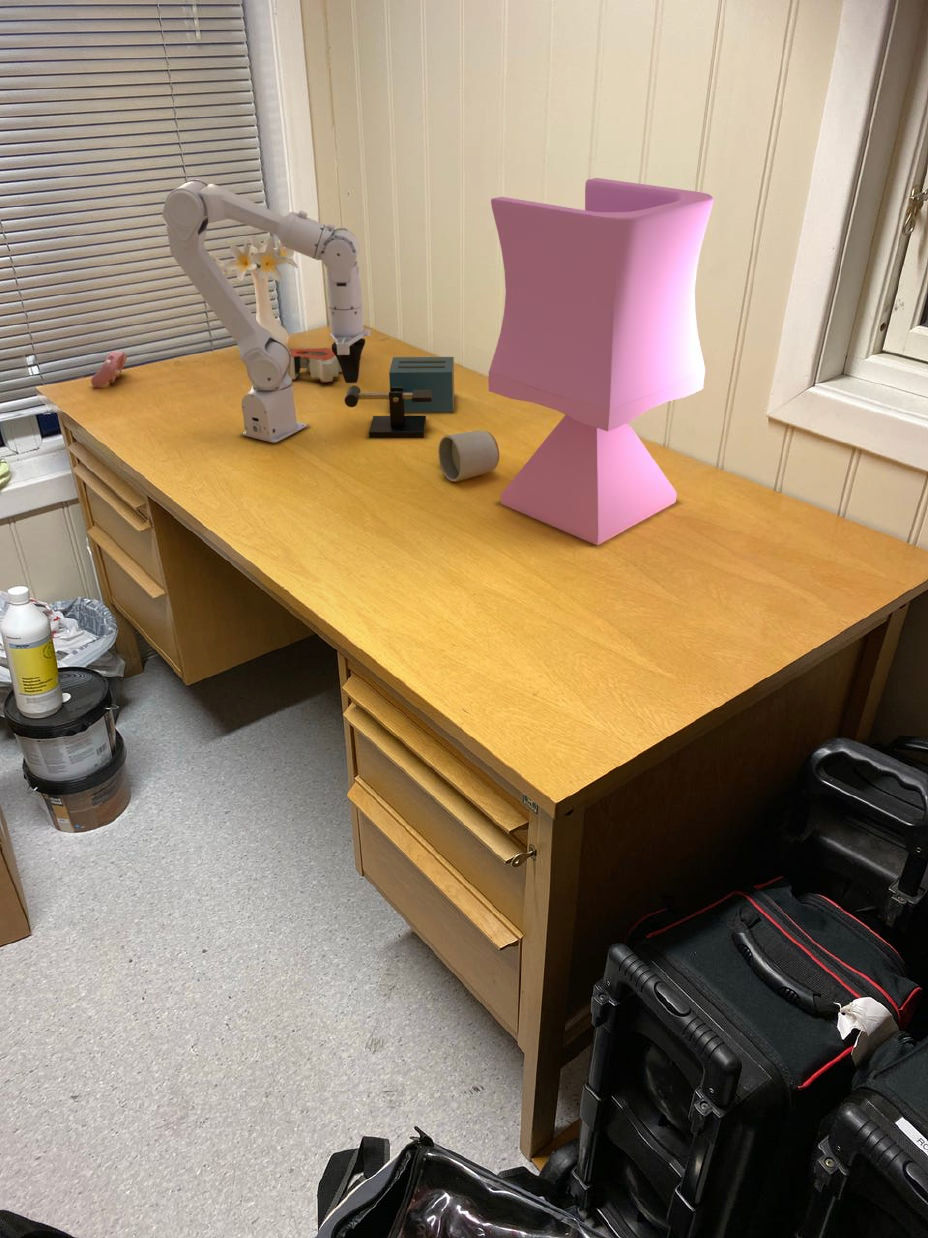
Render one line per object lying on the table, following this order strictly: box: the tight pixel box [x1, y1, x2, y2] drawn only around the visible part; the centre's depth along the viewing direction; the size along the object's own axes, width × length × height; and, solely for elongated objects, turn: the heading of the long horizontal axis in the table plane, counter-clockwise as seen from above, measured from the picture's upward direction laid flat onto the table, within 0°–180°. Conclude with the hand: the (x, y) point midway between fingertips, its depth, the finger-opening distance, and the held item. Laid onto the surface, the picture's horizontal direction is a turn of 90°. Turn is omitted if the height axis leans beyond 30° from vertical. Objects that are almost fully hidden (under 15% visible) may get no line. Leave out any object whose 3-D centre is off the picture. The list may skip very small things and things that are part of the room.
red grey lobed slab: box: [287, 347, 342, 384], centre depth 203 cm, size 18×5×20 cm
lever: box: [344, 384, 432, 408], centre depth 173 cm, size 16×5×2 cm, turn 89°
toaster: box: [388, 356, 455, 414], centre depth 185 cm, size 12×9×8 cm
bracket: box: [368, 386, 427, 439], centre depth 175 cm, size 10×8×8 cm
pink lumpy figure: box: [90, 349, 128, 388], centre depth 200 cm, size 10×5×7 cm, turn 179°
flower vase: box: [209, 234, 299, 347], centre depth 207 cm, size 13×18×25 cm
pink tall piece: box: [488, 177, 715, 546], centre depth 138 cm, size 22×22×45 cm
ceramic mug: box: [437, 430, 500, 483], centre depth 159 cm, size 11×8×8 cm
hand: (351, 381), depth 172 cm, fingers closed
